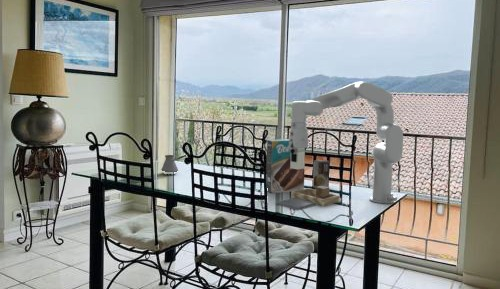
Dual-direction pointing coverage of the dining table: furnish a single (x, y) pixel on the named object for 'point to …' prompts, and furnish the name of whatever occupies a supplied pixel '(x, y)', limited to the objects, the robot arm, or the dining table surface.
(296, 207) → the trivet
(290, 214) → the dining table surface
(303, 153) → the white tall cylinder
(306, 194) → the crate
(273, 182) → the cake mix box
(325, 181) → the coffee box
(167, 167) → the coffee pot
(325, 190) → the walnut block
